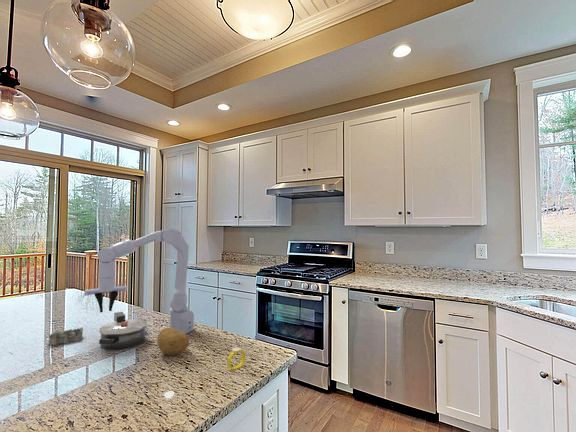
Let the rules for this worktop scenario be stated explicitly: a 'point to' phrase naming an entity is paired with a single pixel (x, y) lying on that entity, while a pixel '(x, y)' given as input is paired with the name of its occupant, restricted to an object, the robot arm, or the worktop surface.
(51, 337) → the egg carton
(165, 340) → the potato
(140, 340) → the cooker pot
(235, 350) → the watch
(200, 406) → the worktop surface
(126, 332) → the lid
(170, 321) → the robot arm
